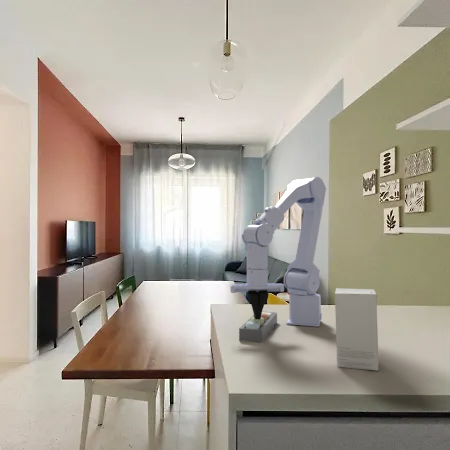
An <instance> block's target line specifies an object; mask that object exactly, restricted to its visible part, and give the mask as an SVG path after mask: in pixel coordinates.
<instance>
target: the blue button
mask: <svg viewBox="0 0 450 450" xmlns="http://www.w3.org/2000/svg"><path fill="white" fill-rule="evenodd" d="M245 323H246V329H255V330H259V329H260V323H259V322H257V321H249V322H247V321H245Z"/></svg>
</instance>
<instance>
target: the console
mask: <svg viewBox="0 0 450 450" xmlns="http://www.w3.org/2000/svg"><path fill="white" fill-rule="evenodd" d="M262 313H266V314H267V315H268V320H267V321H266V320H264V325H260V329H259V330H255V329H246V322H249V321H251V318H252V317H254V314H253V315H252V316H251V317H250V318H249V319H247V320H246V322H244V323H243V325H241V326H240V327H239V328H238V333H239V335H238V337H239V338H238V339H239V341H244V342H251V343H252V342H254V343H263V342H264V341H265V339H266V338H267V337H268V336H269V334H270V333H271V332H272V330H273V329H274V327H275V326H276V325H277V323H278V312H273V311H262Z"/></svg>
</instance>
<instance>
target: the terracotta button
mask: <svg viewBox="0 0 450 450" xmlns="http://www.w3.org/2000/svg"><path fill="white" fill-rule="evenodd" d="M261 317H262V318H264V320H266V321H267V320H268V315H267V314H266V313H262V314H261Z"/></svg>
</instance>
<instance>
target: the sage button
mask: <svg viewBox="0 0 450 450" xmlns="http://www.w3.org/2000/svg"><path fill="white" fill-rule="evenodd" d="M251 317H252V316H251ZM251 317H250V318H251ZM251 321H257V322H259V323H260V325H264V318H262V317H261V319H255V318H254V317H252V318H251Z"/></svg>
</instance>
